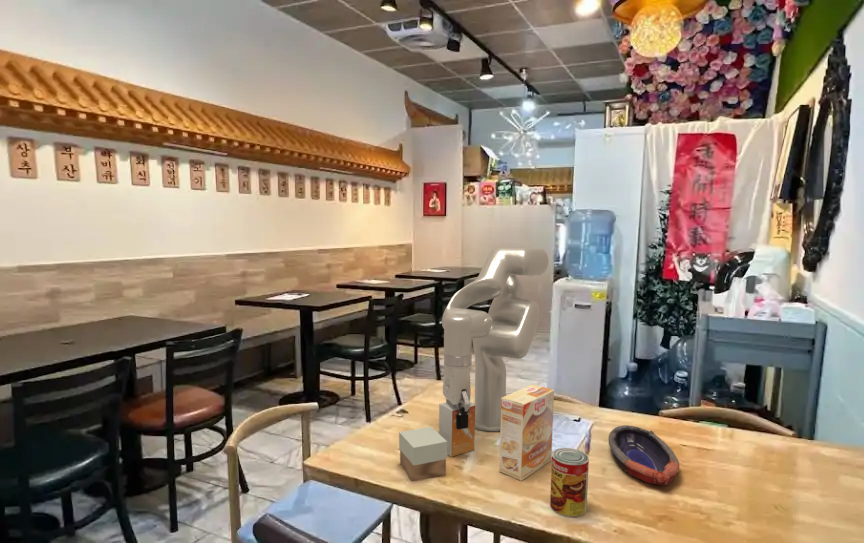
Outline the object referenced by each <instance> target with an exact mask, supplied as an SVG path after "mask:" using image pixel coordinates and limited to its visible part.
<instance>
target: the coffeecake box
mask: <svg viewBox="0 0 864 543" xmlns="http://www.w3.org/2000/svg"><path fill="white" fill-rule="evenodd" d="M554 397H555V390H554V389H551V388H549V387H545V386H540V385H536V384H533V383H532V384H531V385H527V386H525V387H523V388H521V389H518V390H516V391H514V392H511V393H509V394H506V396H504V397H502V398H501V429H500V431H499V432H500V436H499V438H500V440H499V468H498V469H499V471H498V472H500V473H502V474H504V475H507V476H509V477H511V478H513V479H516V480H519V481H524V480H525V479H526V478H528V477H530V476H531V475H532V474H534V473H535V472H536V471H538V470H540V469H541V468H543V466H545V465H547V464H548V463H550V462H552V452H553V451H552V449H553V430H554V429H553V425H554V423H553V421H554V402H555V401H554V400H555V398H554Z"/></svg>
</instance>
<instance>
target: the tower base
mask: <svg viewBox="0 0 864 543" xmlns="http://www.w3.org/2000/svg"><path fill="white" fill-rule="evenodd" d="M399 451H400V452H399V456H400V457H399V463H400V465H401V467H402V468H403V470H404V473H405V474H406V475H407V477H408V479H409V480H410V482H417V481H423V480H427V479H434V478H440V477H446V476H447V459H444V460H439V461H434V462H429V463H424V464H419V465H414V466H413V464H412V463H411V462H410V461H409V460H408V459H407V457H406V456H405V455H404V454H403V453H402V452H401V450H400V449H399Z"/></svg>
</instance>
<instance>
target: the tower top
mask: <svg viewBox="0 0 864 543" xmlns="http://www.w3.org/2000/svg"><path fill="white" fill-rule="evenodd" d="M398 449H399V451H400V450H401V452H402V453H403V454H404V455H405V456H406V457H407V459H408V460H409V461H410V462H411V463H412V464H413V466H414V465H419V464H424V463H429V462H434V461H439V460H444V459H446V460H448V454H447V441H446V440H445V439H444V438H443V437H442V436H441V435H440V434H439V432H438V431H436V429H434V428H433V427H432V426H427V427H421V428H416V429H415V428H414V429H408V430H405V431H404V430H403V431H399V432H398Z"/></svg>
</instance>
